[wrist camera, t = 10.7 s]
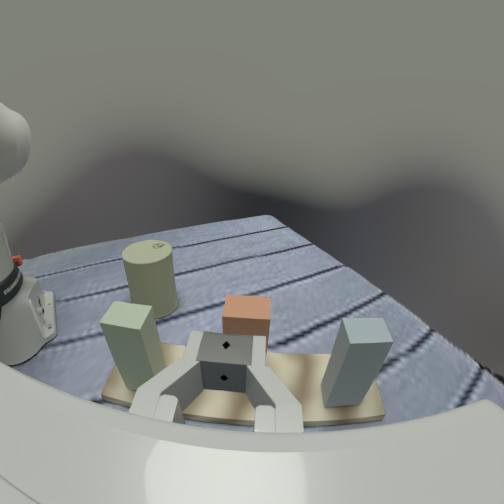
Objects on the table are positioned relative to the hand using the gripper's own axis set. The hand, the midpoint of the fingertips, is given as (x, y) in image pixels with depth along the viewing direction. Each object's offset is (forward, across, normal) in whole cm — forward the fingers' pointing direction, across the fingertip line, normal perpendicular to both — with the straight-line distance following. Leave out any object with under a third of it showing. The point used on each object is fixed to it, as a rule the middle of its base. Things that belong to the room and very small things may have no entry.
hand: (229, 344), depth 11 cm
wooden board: (+15, 0, +25) cm, 29 cm away
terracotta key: (+16, 0, +23) cm, 28 cm away
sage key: (+13, +13, +23) cm, 29 cm away
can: (+32, +18, +25) cm, 45 cm away
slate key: (+13, -13, +23) cm, 29 cm away
